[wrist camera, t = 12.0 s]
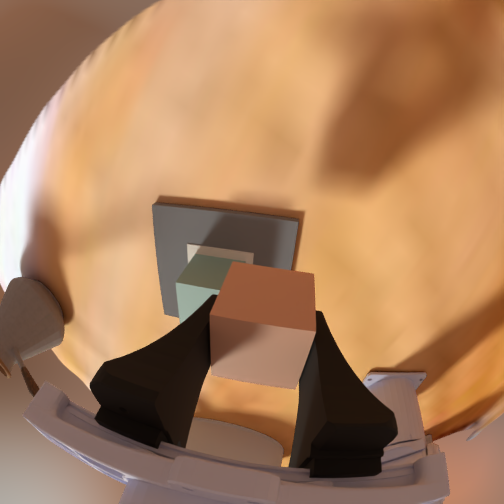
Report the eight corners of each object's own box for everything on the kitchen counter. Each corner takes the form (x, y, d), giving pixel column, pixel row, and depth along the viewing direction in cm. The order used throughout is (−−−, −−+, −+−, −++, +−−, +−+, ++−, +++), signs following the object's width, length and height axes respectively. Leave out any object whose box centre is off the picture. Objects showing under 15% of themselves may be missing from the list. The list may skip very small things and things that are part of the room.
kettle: (135, 416, 43) (95, 506, 23) (204, 398, 33) (155, 542, 14) (226, 465, 49) (205, 543, 30) (308, 454, 39) (295, 557, 20)
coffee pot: (41, 325, 34) (-8, 384, 21) (12, 265, 29) (-51, 323, 16) (139, 353, 31) (85, 450, 18) (107, 276, 25) (16, 382, 12)
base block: (242, 302, 23) (232, 336, 19) (196, 294, 23) (180, 325, 20) (245, 261, 21) (234, 292, 17) (195, 253, 21) (175, 282, 18)
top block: (298, 332, 15) (295, 389, 12) (229, 320, 15) (211, 375, 12) (314, 273, 13) (316, 331, 10) (232, 261, 14) (209, 314, 10)
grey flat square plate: (279, 331, 25) (278, 336, 24) (166, 310, 26) (164, 314, 25) (298, 218, 19) (298, 222, 19) (155, 202, 20) (151, 205, 20)
